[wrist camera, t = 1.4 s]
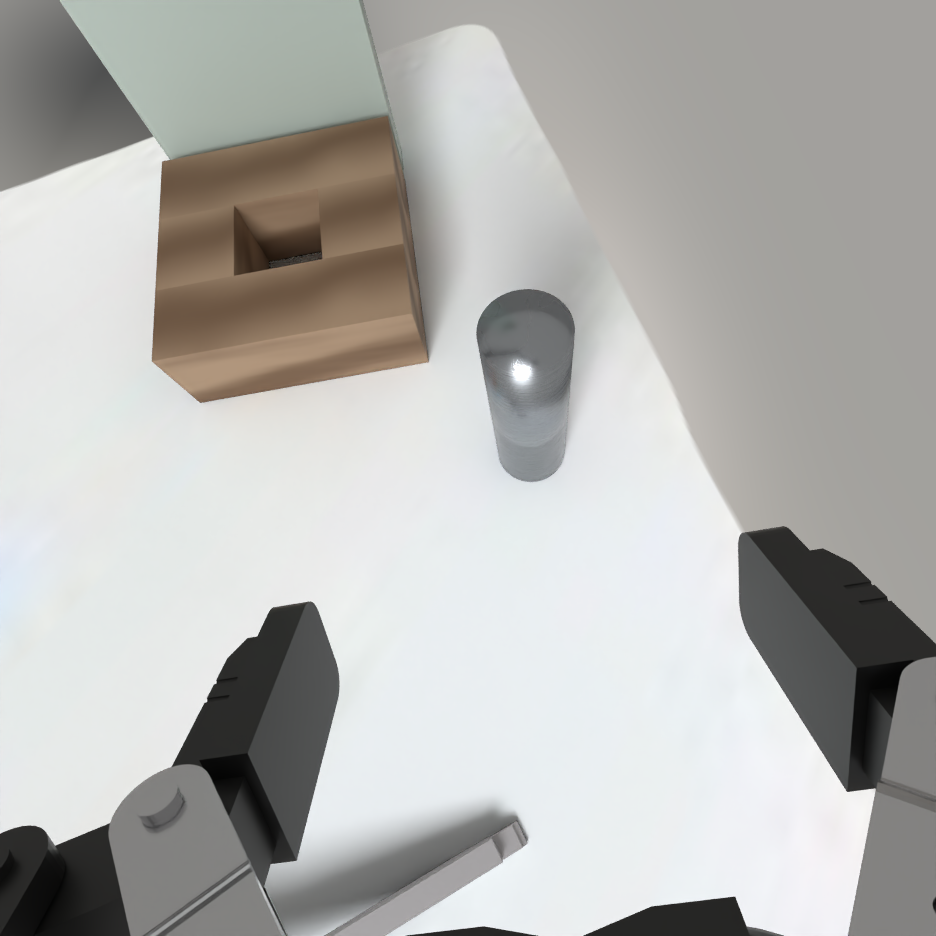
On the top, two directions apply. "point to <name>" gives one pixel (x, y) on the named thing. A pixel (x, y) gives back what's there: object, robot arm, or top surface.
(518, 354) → the steel peg
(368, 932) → the caliper
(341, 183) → the socket block
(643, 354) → the top surface
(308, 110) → the pale green block
